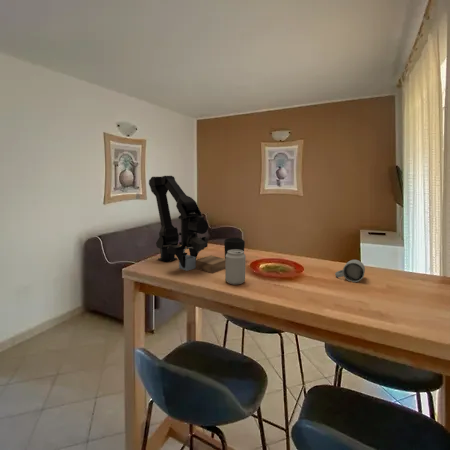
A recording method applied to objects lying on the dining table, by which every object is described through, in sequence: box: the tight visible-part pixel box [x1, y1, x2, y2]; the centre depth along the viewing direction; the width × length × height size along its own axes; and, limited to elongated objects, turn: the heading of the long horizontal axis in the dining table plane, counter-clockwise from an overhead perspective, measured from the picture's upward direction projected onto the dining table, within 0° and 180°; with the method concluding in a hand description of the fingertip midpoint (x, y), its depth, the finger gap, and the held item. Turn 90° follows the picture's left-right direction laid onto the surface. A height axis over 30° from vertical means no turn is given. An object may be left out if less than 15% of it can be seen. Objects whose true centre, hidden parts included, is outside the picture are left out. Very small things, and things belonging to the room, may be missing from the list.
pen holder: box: [223, 237, 246, 259], centre depth 142 cm, size 9×9×10 cm
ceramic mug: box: [334, 259, 366, 283], centre depth 119 cm, size 11×8×8 cm
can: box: [224, 249, 247, 286], centre depth 114 cm, size 8×8×12 cm
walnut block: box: [195, 254, 226, 274], centre depth 131 cm, size 10×10×4 cm
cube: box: [178, 254, 197, 272], centre depth 130 cm, size 5×5×5 cm
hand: (188, 266), depth 130 cm, fingers open, 5 cm apart
